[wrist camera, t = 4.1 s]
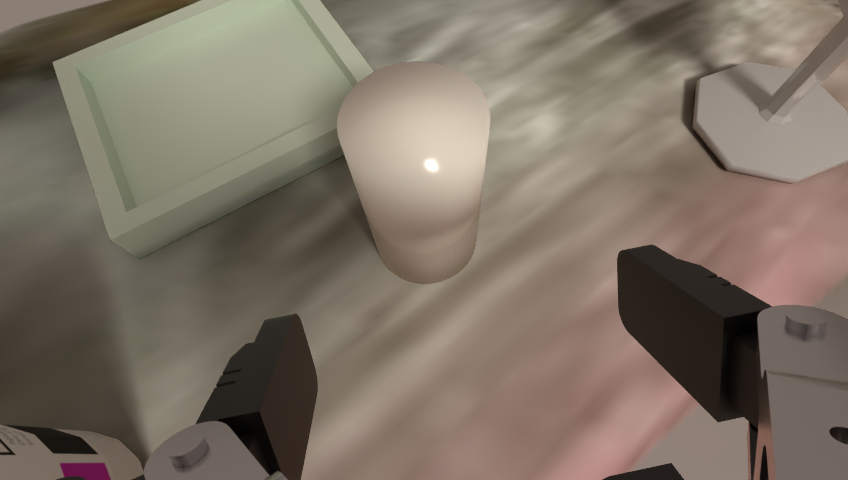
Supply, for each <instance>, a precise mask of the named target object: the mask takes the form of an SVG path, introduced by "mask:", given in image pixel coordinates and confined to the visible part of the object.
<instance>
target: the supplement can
mask: <svg viewBox="0 0 848 480" xmlns="http://www.w3.org/2000/svg"><path fill="white" fill-rule="evenodd" d="M143 474H144V471H143V468H142V466H141V464H140V461H139V459H138V457H136V456H135V455H134V454H133V453H132V452H131V451H130V450H129V449H128V448H127V447H126V446H125V445H124V444H123V443H121V442H120V441H119V440H118V439H115V438H112V437H108V436H105V435H102V434H98V433H95V432H91V431H78V430H65V429H51V428H38V427H24V426H11V425H0V480H56V479H60V478H63V477H69V476H79V477H83V478H85V479H86V480H132V479H134V478H136V477H139V476H141V475H143Z"/></svg>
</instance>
